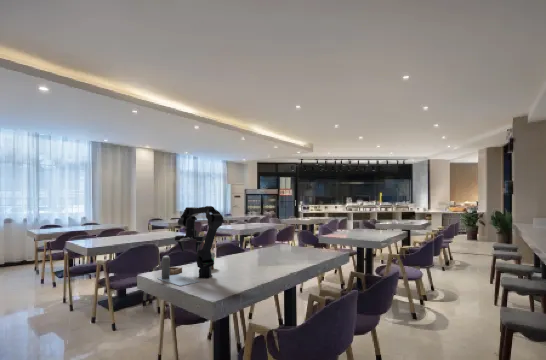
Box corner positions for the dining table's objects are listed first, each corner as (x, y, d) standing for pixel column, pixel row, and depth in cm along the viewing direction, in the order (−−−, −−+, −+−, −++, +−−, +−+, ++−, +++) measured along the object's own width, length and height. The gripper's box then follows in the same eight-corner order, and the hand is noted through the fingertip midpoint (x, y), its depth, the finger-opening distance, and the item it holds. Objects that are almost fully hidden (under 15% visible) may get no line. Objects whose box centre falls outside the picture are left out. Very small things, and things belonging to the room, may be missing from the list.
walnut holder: (181, 271, 200) (182, 267, 200) (175, 274, 192) (175, 270, 192) (169, 270, 201) (170, 267, 202) (162, 273, 193) (163, 269, 193)
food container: (211, 271, 201) (211, 255, 202) (202, 270, 202) (202, 255, 203) (218, 267, 213) (218, 252, 214) (209, 266, 214) (209, 252, 215)
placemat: (200, 281, 174) (200, 281, 174) (180, 286, 165) (180, 285, 165) (176, 275, 190) (177, 274, 190) (157, 278, 181) (157, 278, 181)
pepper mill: (168, 277, 184) (169, 255, 184) (170, 278, 180) (170, 256, 181) (161, 277, 182) (161, 255, 183) (162, 279, 178) (162, 257, 179)
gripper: (209, 226, 204) (208, 250, 203) (182, 225, 207) (182, 249, 206) (202, 227, 193) (201, 253, 192) (174, 227, 196) (173, 252, 195)
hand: (189, 252), depth 196 cm, fingers open, 9 cm apart
